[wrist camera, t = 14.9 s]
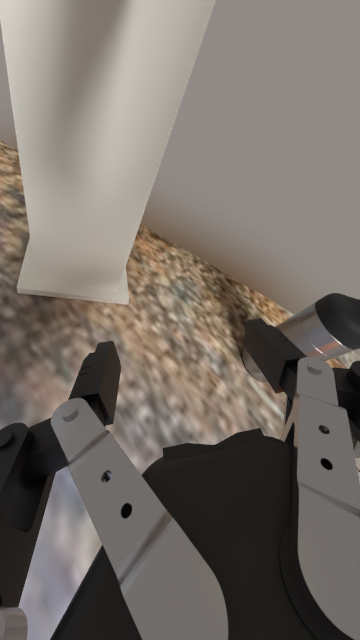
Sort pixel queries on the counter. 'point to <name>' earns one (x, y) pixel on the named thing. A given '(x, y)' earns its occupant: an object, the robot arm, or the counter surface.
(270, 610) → the robot arm
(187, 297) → the counter surface
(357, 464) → the small box
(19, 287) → the mount
